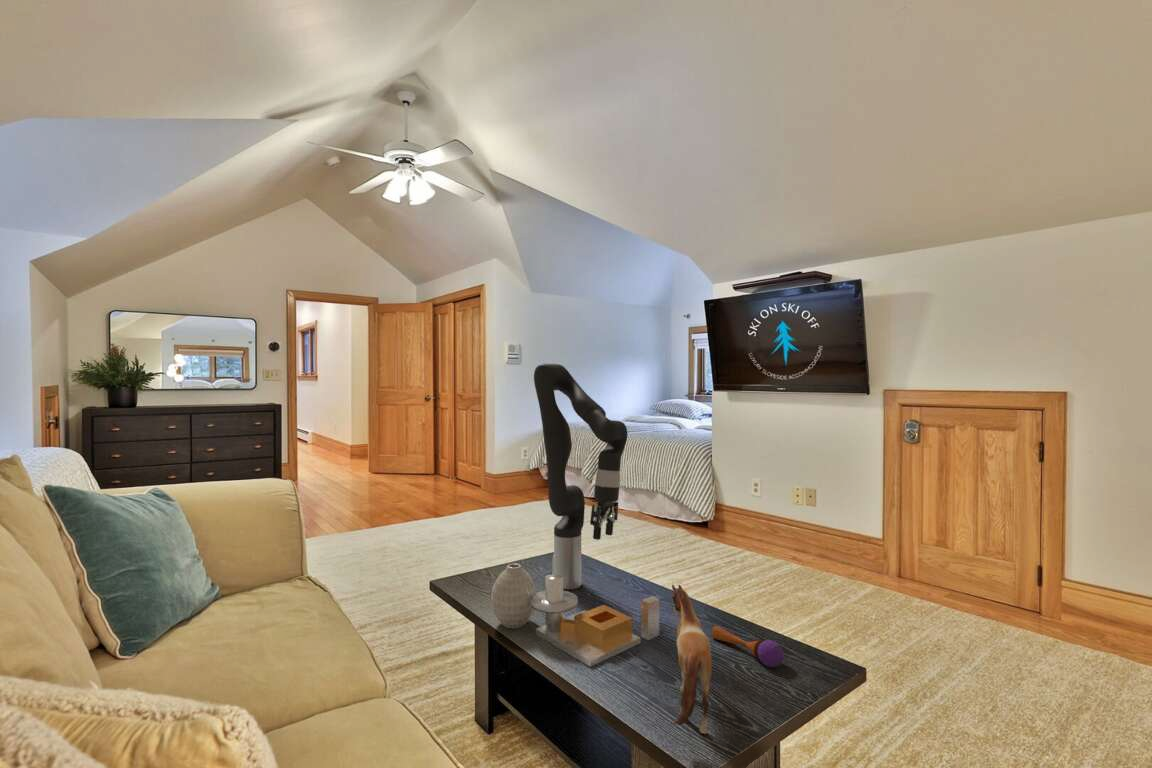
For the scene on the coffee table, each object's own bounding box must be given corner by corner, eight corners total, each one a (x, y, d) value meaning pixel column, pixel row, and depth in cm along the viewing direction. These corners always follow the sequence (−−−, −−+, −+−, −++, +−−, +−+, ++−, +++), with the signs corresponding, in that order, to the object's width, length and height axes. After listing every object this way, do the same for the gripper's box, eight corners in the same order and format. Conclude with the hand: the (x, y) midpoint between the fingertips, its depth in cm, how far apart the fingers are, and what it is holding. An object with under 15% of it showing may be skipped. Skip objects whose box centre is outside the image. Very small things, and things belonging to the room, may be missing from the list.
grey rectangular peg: (641, 636, 147) (641, 600, 147) (651, 631, 150) (652, 595, 150) (648, 640, 145) (648, 603, 145) (658, 635, 148) (659, 598, 148)
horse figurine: (671, 665, 133) (671, 582, 132) (703, 668, 131) (704, 584, 131) (672, 753, 102) (673, 644, 102) (714, 758, 101) (715, 648, 100)
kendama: (723, 620, 149) (789, 643, 133) (721, 643, 148) (787, 669, 132) (708, 621, 146) (774, 645, 130) (707, 644, 145) (773, 672, 129)
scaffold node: (520, 632, 150) (520, 576, 149) (577, 611, 163) (577, 559, 163) (582, 670, 130) (582, 606, 130) (640, 643, 144) (640, 584, 144)
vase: (527, 610, 163) (527, 555, 163) (543, 628, 152) (543, 569, 151) (485, 618, 158) (485, 561, 158) (499, 638, 146) (499, 576, 146)
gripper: (606, 481, 177) (602, 531, 176) (586, 484, 165) (581, 538, 164) (627, 484, 173) (623, 536, 172) (608, 487, 161) (603, 543, 160)
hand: (602, 537), depth 168 cm, fingers open, 8 cm apart
